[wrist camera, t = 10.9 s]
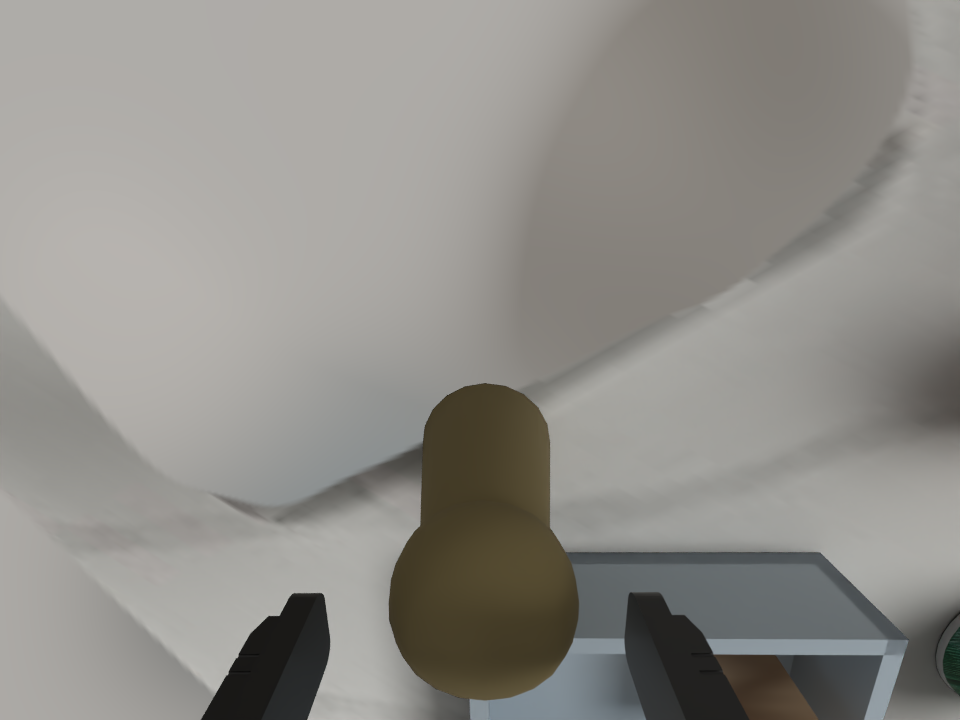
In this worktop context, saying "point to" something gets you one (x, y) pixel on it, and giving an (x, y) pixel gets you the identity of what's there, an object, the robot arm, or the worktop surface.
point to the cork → (484, 553)
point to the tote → (721, 632)
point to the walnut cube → (764, 687)
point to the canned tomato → (950, 655)
